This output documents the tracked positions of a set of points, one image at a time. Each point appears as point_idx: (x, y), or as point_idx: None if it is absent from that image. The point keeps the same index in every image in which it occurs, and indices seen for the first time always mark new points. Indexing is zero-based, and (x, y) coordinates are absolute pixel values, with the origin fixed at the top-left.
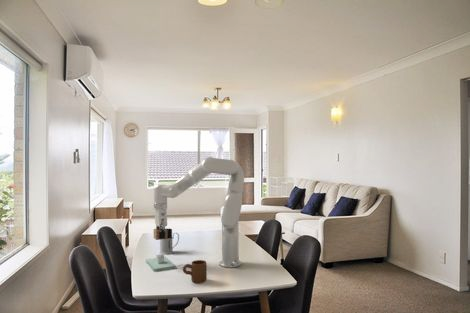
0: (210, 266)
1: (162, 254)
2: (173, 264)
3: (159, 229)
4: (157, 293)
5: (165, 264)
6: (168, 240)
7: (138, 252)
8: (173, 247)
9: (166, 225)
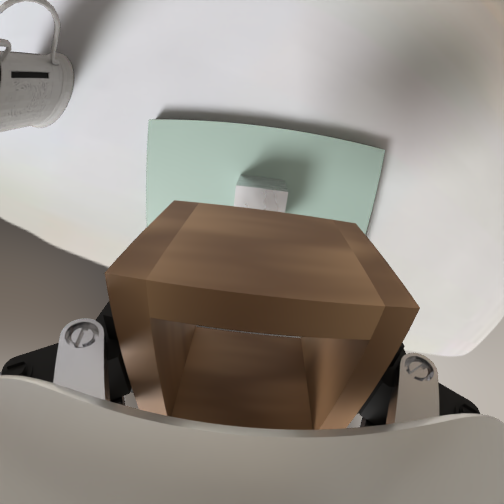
0: (442, 7)
1: (240, 187)
2: (355, 147)
3: (165, 373)
4: (499, 317)
5: (323, 188)
6: (10, 79)
7: (4, 219)
8: (56, 47)
9: (497, 432)
